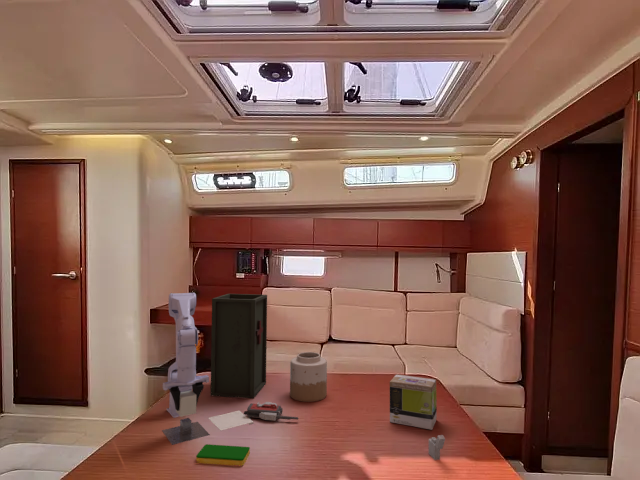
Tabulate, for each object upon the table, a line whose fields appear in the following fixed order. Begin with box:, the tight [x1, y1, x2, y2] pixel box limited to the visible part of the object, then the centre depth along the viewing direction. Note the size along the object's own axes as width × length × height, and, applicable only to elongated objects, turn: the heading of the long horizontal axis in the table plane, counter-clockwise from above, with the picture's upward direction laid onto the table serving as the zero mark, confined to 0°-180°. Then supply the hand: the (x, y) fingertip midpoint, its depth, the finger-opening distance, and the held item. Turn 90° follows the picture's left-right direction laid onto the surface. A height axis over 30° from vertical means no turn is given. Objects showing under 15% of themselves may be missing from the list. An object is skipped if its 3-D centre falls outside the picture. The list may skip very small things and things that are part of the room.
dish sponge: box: [195, 443, 251, 467], centre depth 119 cm, size 7×14×2 cm, turn 84°
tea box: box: [389, 374, 438, 431], centre depth 145 cm, size 15×10×15 cm, turn 65°
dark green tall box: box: [210, 293, 268, 399], centre depth 176 cm, size 18×18×40 cm
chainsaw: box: [243, 401, 299, 422], centre depth 147 cm, size 9×4×20 cm
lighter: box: [428, 434, 446, 461], centre depth 120 cm, size 7×2×8 cm, turn 11°
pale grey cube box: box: [176, 390, 197, 418], centre depth 134 cm, size 5×5×6 cm
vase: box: [289, 351, 328, 403], centre depth 170 cm, size 15×15×17 cm
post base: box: [161, 417, 211, 446], centre depth 133 cm, size 12×12×4 cm
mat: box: [208, 410, 255, 432], centre depth 143 cm, size 12×12×1 cm
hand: (186, 407), depth 134 cm, fingers closed on pale grey cube box, 5 cm apart
